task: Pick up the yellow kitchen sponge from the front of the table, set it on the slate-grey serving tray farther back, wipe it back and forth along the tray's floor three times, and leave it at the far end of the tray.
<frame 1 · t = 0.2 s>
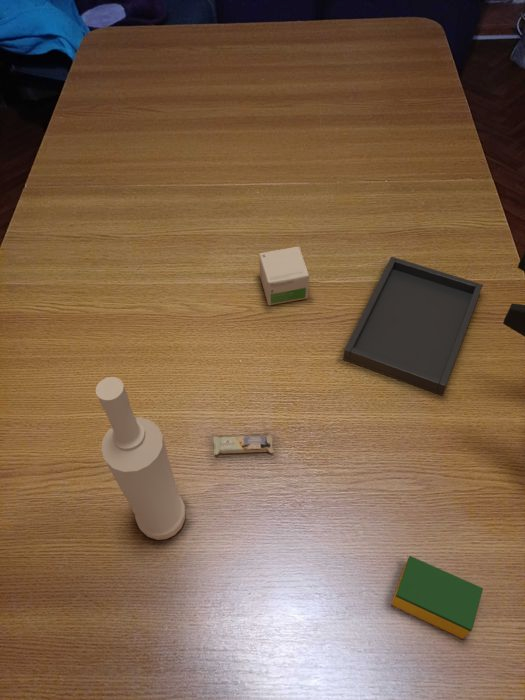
hand: (514, 284, 55), 21 cm above the table, tool horizontal, fingers open, 7 cm apart
sponge: (432, 601, 59), on the table
bottle: (162, 518, 65), on the table
tray: (413, 326, 80), on the table
small box: (283, 289, 84), on the table
granola bar: (243, 447, 70), on the table
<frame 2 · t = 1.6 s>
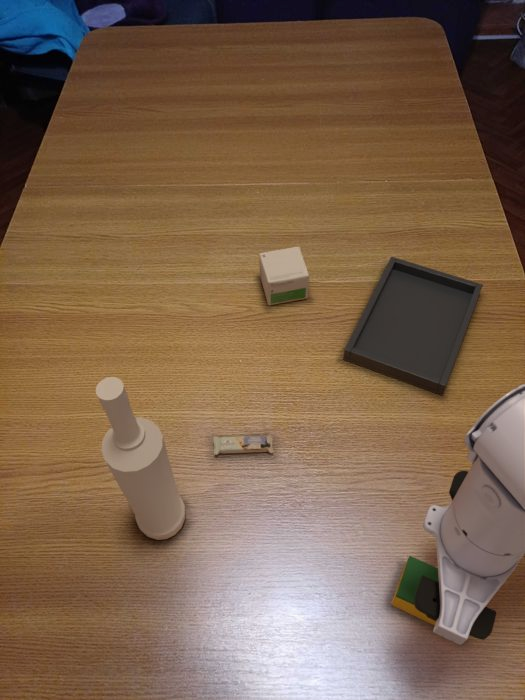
hand: (451, 574, 52), 8 cm above the table, tool pointing down, fingers open, 7 cm apart
nothing on the table moved.
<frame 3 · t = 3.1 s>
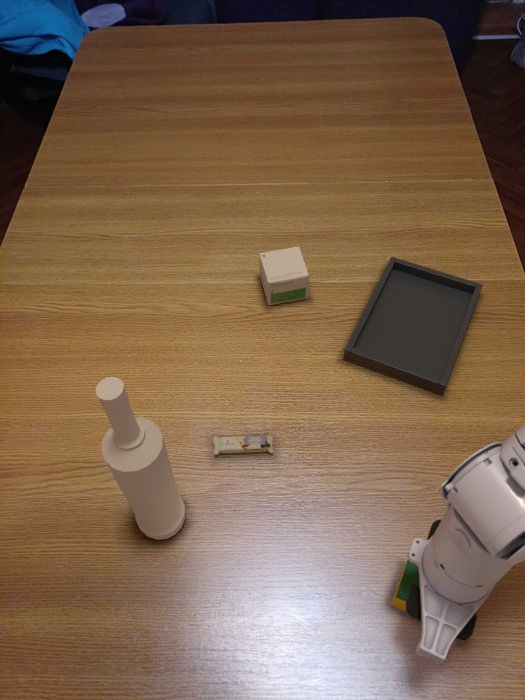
hand: (435, 597, 58), 1 cm above the table, tool pointing down, fingers closed on sponge, 4 cm apart
sponge: (432, 601, 59), on the table, touching gripper
everything else where it was.
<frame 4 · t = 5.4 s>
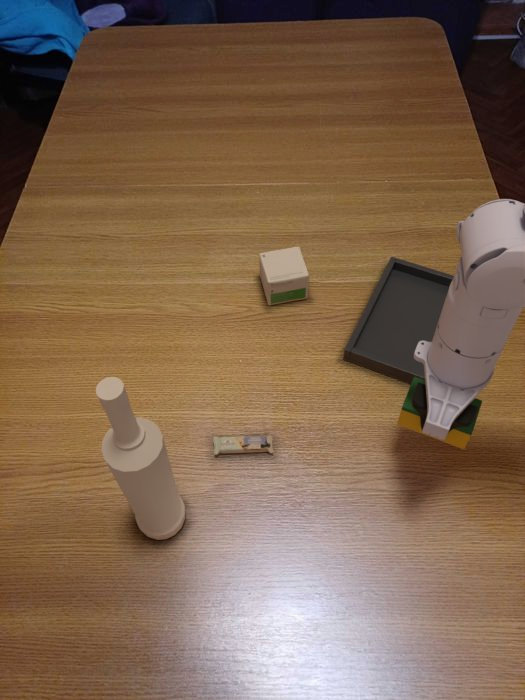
hand: (438, 414, 63), 8 cm above the table, tool pointing down, fingers closed on sponge, 4 cm apart
sponge: (435, 421, 64), point 6 cm above the table, touching gripper
everything else where it was.
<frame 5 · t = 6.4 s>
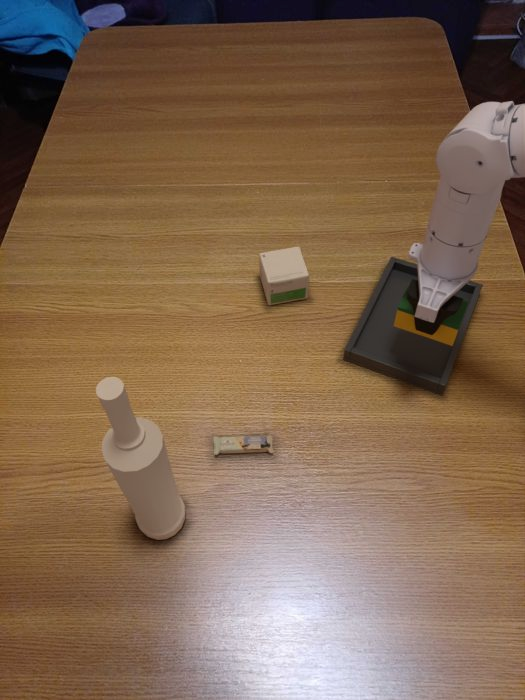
hand: (430, 316, 71), 7 cm above the table, tool pointing down, fingers closed on sponge, 4 cm apart
sponge: (427, 323, 72), point 6 cm above the table, touching gripper
everything else where it was.
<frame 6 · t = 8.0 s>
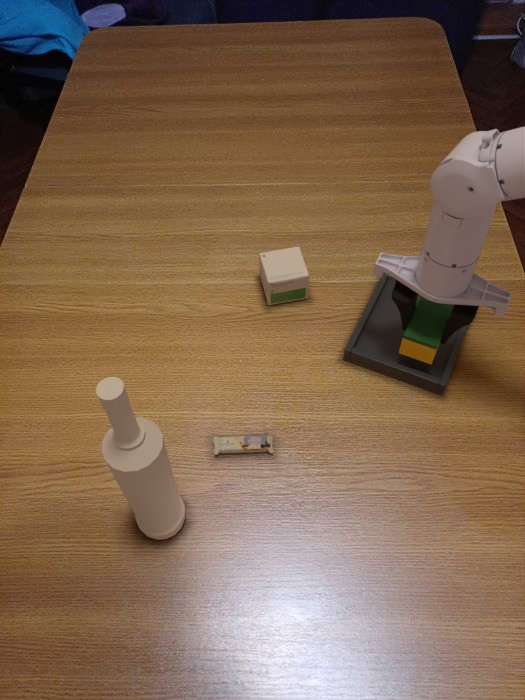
hand: (425, 331, 73), 5 cm above the table, tool pointing down, fingers closed on sponge, 4 cm apart
sponge: (423, 337, 74), point 3 cm above the table, touching gripper
everything else where it was.
when the fingers open (2 cm above the table, at t = 14.2 s): sponge stays where it is, resting on tray.
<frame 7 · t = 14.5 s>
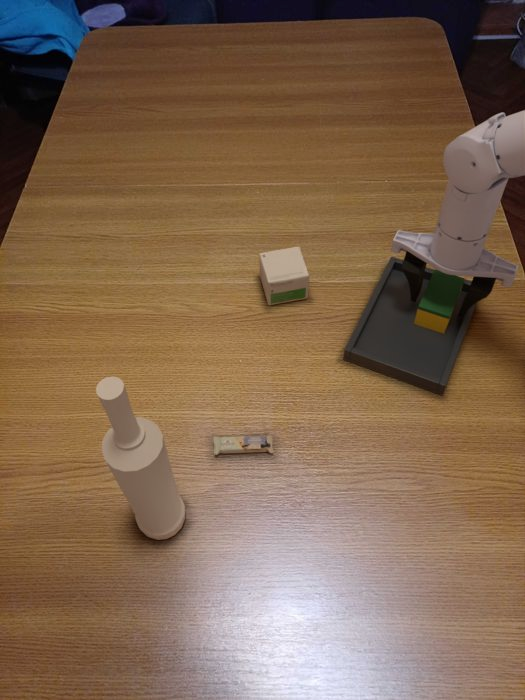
hand: (438, 303, 79), 2 cm above the table, tool pointing down, fingers open, 6 cm apart
sponge: (436, 309, 80), point 1 cm above the table, touching tray
everything else where it was.
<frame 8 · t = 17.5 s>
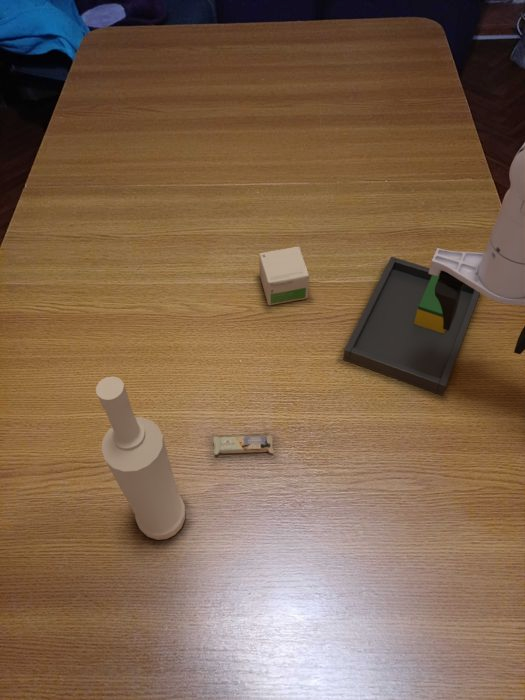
hand: (483, 334, 67), 9 cm above the table, tool pointing down, fingers open, 7 cm apart
nothing on the table moved.
at the end: sponge inside the target area in the tray (2.1 cm from its centre), point 0.6 cm above the tray's base; the gripper is holding nothing; sponge moved 36.8 cm from its start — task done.
